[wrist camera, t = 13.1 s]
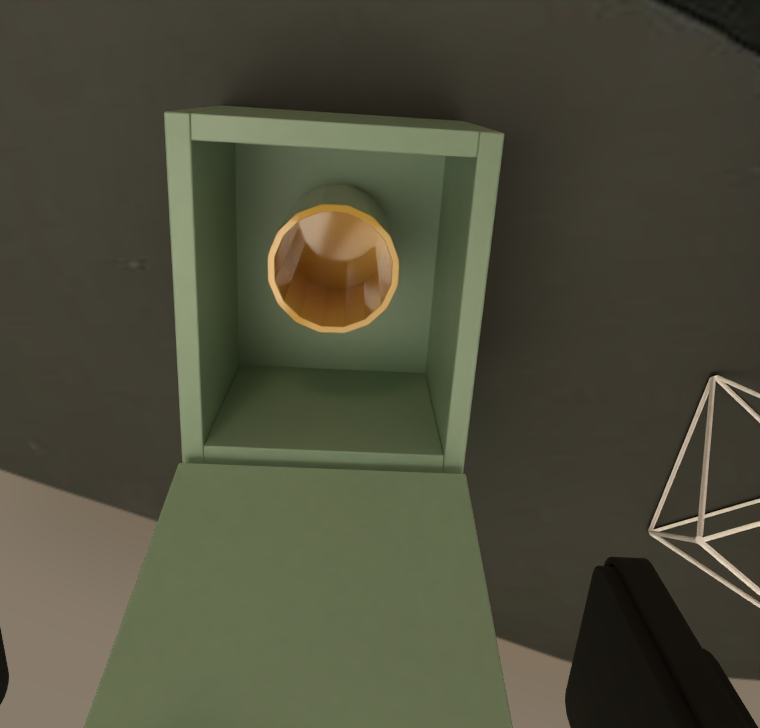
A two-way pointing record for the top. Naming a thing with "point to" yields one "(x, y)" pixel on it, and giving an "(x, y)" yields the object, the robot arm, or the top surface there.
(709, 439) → the geometric polyhedron
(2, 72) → the top surface
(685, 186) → the top surface
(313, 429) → the green hinged lid box
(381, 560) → the green box lid
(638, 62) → the top surface
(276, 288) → the yellow cylinder
